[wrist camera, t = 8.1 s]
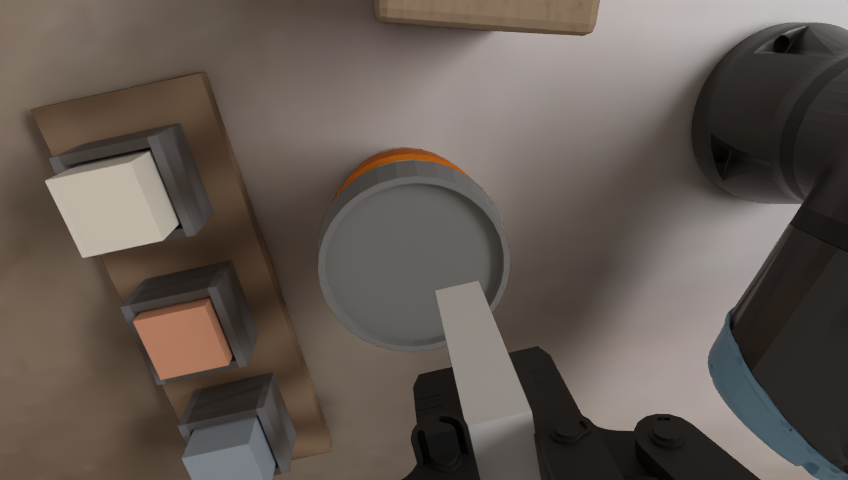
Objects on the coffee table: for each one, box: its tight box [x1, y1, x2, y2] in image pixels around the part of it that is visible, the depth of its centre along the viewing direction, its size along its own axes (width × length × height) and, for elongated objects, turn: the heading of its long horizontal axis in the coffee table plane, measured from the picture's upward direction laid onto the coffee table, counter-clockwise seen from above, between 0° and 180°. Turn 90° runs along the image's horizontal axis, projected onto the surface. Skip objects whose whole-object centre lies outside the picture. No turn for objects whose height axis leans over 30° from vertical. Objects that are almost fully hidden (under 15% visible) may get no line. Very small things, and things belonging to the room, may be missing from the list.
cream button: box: [45, 148, 181, 258], centre depth 38 cm, size 6×6×5 cm
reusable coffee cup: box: [317, 147, 510, 352], centre depth 40 cm, size 13×13×15 cm
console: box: [31, 72, 332, 475], centre depth 46 cm, size 38×13×6 cm, turn 11°
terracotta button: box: [133, 296, 233, 380], centre depth 44 cm, size 6×6×5 cm
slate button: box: [181, 415, 276, 480], centre depth 47 cm, size 6×6×5 cm
